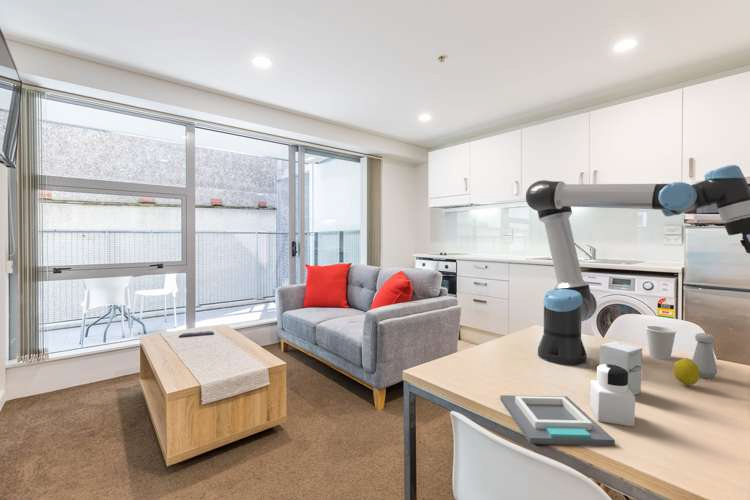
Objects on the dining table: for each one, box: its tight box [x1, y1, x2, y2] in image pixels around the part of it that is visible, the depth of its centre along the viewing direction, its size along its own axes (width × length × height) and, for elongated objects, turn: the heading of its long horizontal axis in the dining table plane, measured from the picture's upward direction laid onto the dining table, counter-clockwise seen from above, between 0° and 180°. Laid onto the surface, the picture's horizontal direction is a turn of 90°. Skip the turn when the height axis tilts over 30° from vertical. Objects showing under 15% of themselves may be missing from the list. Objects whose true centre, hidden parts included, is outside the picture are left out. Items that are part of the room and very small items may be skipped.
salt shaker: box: [691, 332, 718, 380], centre depth 104 cm, size 6×6×13 cm
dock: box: [499, 394, 616, 446], centre depth 80 cm, size 19×17×3 cm
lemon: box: [673, 357, 700, 387], centre depth 98 cm, size 6×6×8 cm
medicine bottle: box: [589, 364, 636, 427], centre depth 81 cm, size 7×7×12 cm
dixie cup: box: [645, 325, 677, 361], centre depth 121 cm, size 8×8×10 cm
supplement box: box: [598, 341, 643, 396], centre depth 94 cm, size 7×7×13 cm
